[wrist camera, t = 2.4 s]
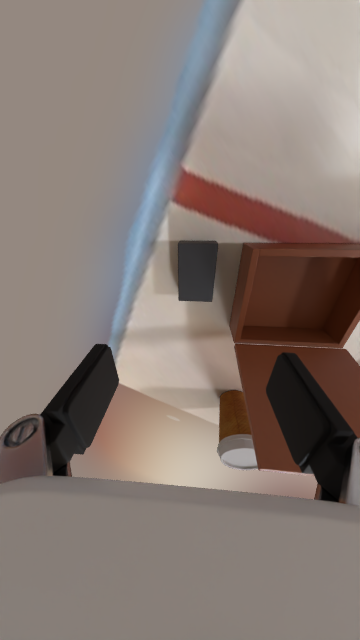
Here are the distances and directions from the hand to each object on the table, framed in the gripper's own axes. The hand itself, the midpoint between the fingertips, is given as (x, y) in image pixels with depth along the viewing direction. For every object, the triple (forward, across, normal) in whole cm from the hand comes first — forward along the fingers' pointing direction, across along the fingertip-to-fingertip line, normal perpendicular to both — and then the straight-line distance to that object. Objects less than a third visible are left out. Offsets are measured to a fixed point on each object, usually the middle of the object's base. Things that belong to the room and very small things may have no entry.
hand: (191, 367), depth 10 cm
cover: (+7, -14, +10) cm, 19 cm away
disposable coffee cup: (+20, -10, +29) cm, 37 cm away
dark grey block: (+19, 0, -1) cm, 19 cm away
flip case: (+19, -14, +2) cm, 24 cm away
